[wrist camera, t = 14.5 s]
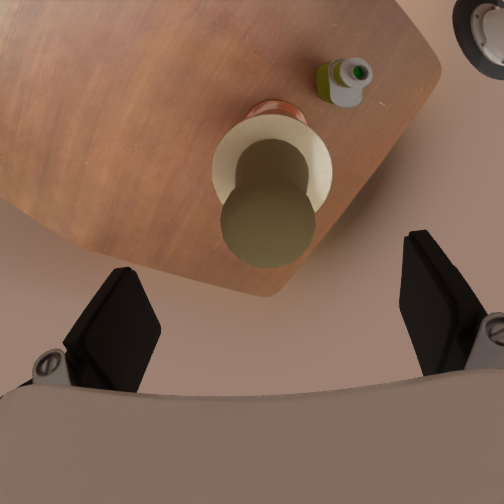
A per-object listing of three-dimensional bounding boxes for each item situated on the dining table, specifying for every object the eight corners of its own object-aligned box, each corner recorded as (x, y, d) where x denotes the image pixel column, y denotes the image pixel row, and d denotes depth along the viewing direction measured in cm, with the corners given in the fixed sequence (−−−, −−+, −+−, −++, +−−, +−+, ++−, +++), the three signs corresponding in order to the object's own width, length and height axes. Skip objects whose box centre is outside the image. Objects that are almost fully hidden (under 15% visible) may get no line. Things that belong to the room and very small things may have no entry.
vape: (339, 64, 40) (378, 53, 22) (342, 101, 43) (382, 114, 25) (315, 64, 40) (339, 51, 23) (318, 101, 43) (343, 113, 26)
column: (317, 114, 44) (351, 143, 23) (294, 171, 49) (304, 244, 28) (255, 90, 43) (233, 97, 22) (234, 149, 48) (197, 207, 27)
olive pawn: (322, 187, 26) (346, 255, 16) (260, 220, 28) (249, 301, 18) (284, 124, 23) (287, 155, 14) (221, 163, 25) (183, 218, 16)
